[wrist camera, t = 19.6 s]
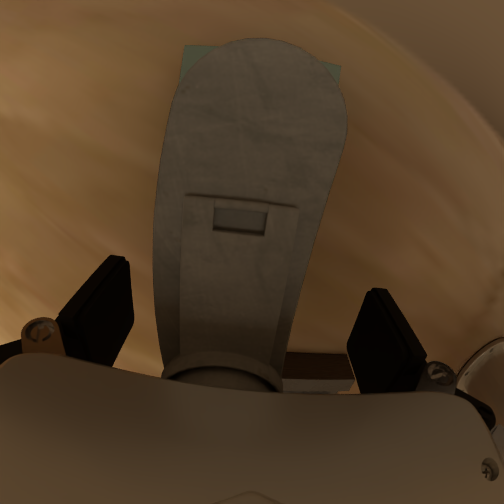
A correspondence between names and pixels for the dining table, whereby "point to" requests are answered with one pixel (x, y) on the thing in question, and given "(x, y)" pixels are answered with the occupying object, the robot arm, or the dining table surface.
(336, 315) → the dining table surface
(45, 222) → the dining table surface
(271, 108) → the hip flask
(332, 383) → the switch panel
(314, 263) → the dining table surface
